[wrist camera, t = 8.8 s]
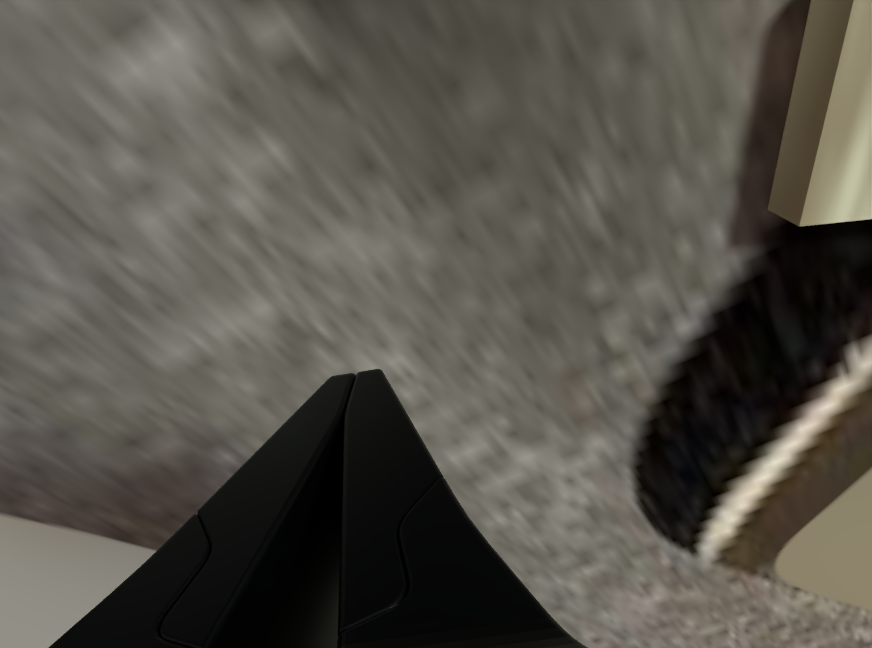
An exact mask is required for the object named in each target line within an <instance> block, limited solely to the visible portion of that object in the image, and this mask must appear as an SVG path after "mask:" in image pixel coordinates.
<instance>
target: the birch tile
mask: <svg viewBox="0 0 872 648" xmlns="http://www.w3.org/2000/svg"><path fill="white" fill-rule="evenodd" d="M767 210H769V211H771V212H773V213H775V214H776V215H778V216H780V217H782V218H784V219H786V220H788V221H790V222H791V223H793V224H795V225H797V226H799V227H800V226H810V225H820V224H829V223H839V222H849V221H858V220H868V219H872V0H811V1H810V6H809V11H808V16H807V21H806V25H805V30H804V35H803V40H802V45H801V50H800V54H799V59H798V64H797V69H796V74H795V79H794V83H793V88H792V93H791V98H790V103H789V107H788V112H787V117H786V122H785V127H784V132H783V136H782V141H781V146H780V151H779V156H778V161H777V165H776V170H775V175H774V180H773V185H772V189H771V194H770V199H769V204H768V209H767Z"/></svg>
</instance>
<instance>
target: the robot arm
mask: <svg viewBox="0 0 872 648" xmlns="http://www.w3.org/2000/svg"><path fill="white" fill-rule="evenodd" d="M49 648H587V647H586V646H584V645H582V644H581V643H580V642H578V641H577V640H575V639H574V638H573V637H572V636H570V635H569V634H568V633H567V632H566V631H565V630H564V629H563V628H562V627H561V626H560V625H559V624H558V623H557V622H556V621H555V620H554V619H553V618H552V617H551V616H550V615H549V614H548V613H547V611H546V610H545V609H544V608H543V607H542V606H541V605H540V603H539V602H538V601H537V600H536V599H535V598H534V596H533V595H532V594H531V593H530V592H529V590H528V589H527V588H526V587H525V586H524V584H523V583H522V582H521V581H520V580H519V579H518V577H517V576H516V575H515V574H514V573H513V571H512V570H511V569H510V568H509V567H508V566H507V564H506V563H505V562H504V561H503V560H502V558H501V557H500V556H499V555H498V554H497V552H496V551H495V550H494V549H493V548H492V547H491V545H490V544H489V543H488V542H487V540H486V539H485V538H484V537H483V535H482V534H481V533H480V531H479V530H478V529H477V528H476V526H475V525H474V524H473V522H472V521H471V520H470V518H469V517H468V516H467V514H466V512H465V511H464V509H463V508H462V506H461V505H460V503H459V502H458V500H457V498H456V497H455V495H454V494H453V492H452V490H451V489H450V487H449V485H448V483H447V482H446V480H445V479H444V478H443V475H442V474H441V472H440V470H439V468H438V467H437V465H436V463H435V461H434V460H433V458H432V456H431V455H430V453H429V451H428V449H427V448H426V446H425V444H424V442H423V441H422V439H421V437H420V435H419V434H418V432H417V430H416V429H415V427H414V425H413V423H412V422H411V420H410V418H409V416H408V415H407V413H406V411H405V410H404V408H403V406H402V404H401V403H400V401H399V399H398V397H397V396H396V394H395V392H394V390H393V389H392V387H391V385H390V384H389V382H388V380H387V378H386V377H385V375H384V373H383V371H382V370H380V369H374V370H368V371H362V372H358V373H357V375H355V374H354V373H349V374H343V375H336V376H332V377H330V378H329V379H328V380H327V381H326V382H325V383H324V384H323V385H322V386H321V387H320V388H319V389H318V390H317V391H316V392H315V393H314V394H313V395H312V396H311V397H310V398H309V399H308V400H307V401H306V402H305V403H304V404H303V405H302V406H301V407H300V408H299V409H298V410H297V411H296V412H295V413H294V414H293V415H292V416H291V417H290V418H289V419H288V420H287V421H286V422H285V423H284V424H283V425H282V426H281V427H280V428H279V429H278V430H277V431H276V432H275V433H274V434H273V435H272V436H271V437H270V438H269V439H268V440H267V441H266V442H265V443H264V444H263V445H262V446H261V447H260V449H259V450H258V451H257V452H256V453H255V454H254V455H253V456H252V457H251V458H250V459H249V460H248V461H247V462H246V463H245V464H244V465H243V466H242V467H241V468H240V469H239V470H238V471H237V472H236V473H235V474H234V475H233V476H232V477H231V478H230V479H229V480H228V481H227V482H226V483H225V484H224V485H223V486H222V487H221V488H220V489H219V490H218V491H217V492H216V493H215V494H214V495H213V496H212V497H211V498H210V499H209V500H208V501H207V502H206V503H205V504H204V505H203V506H202V507H201V508H200V509H199V510H198V515H196V514H195V515H193V516H192V517H191V518H190V519H189V520H188V521H187V522H186V523H185V524H184V525H183V526H182V527H181V528H180V529H179V530H178V531H177V532H176V533H175V534H174V535H173V536H172V537H171V538H170V539H169V540H168V541H167V542H166V543H165V544H164V545H163V546H162V547H161V548H159V549H158V550H157V551H156V552H155V553H154V554H153V555H152V556H151V557H150V558H149V559H148V560H147V561H146V562H145V563H144V564H143V565H142V566H141V567H140V568H138V569H137V570H136V571H135V572H134V573H133V574H132V575H131V576H130V577H128V578H127V579H126V580H125V581H124V582H123V583H122V584H121V585H120V586H118V587H117V588H116V589H115V590H114V591H113V592H112V593H111V594H110V595H109V596H107V597H106V598H105V599H104V600H103V601H102V602H101V603H100V604H98V605H97V606H96V607H95V608H94V609H92V610H91V611H90V612H89V613H88V614H87V615H86V616H84V617H83V618H82V619H81V620H80V621H79V622H77V623H76V624H75V625H74V626H73V627H72V628H71V629H69V630H68V631H67V632H66V633H65V634H64V635H63V636H61V638H59V639H58V640H57V641H56V642H55V643H53V644H52V645H51V646H50V647H49Z"/></svg>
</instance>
